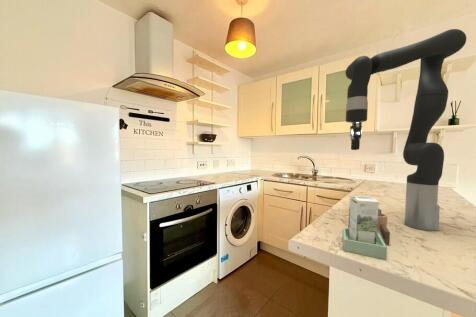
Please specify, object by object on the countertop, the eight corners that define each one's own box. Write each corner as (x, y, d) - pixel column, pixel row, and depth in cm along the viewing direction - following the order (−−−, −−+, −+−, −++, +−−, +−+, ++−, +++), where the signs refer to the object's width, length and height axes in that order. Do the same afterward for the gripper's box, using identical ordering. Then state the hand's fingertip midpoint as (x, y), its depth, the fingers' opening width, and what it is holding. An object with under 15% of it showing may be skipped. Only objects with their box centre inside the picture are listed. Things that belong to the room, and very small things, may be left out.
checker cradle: (383, 235, 69) (384, 223, 69) (389, 245, 62) (389, 232, 62) (348, 229, 74) (348, 218, 74) (349, 238, 67) (350, 226, 67)
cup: (383, 228, 76) (384, 213, 76) (387, 234, 70) (388, 217, 70) (365, 225, 78) (366, 210, 78) (367, 231, 73) (368, 215, 73)
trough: (378, 244, 63) (379, 233, 63) (386, 259, 54) (387, 247, 54) (342, 237, 67) (342, 227, 67) (343, 250, 58) (344, 239, 58)
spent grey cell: (379, 227, 75) (380, 207, 75) (381, 229, 73) (382, 209, 72) (371, 225, 76) (371, 206, 76) (372, 228, 74) (373, 208, 73)
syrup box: (366, 241, 63) (368, 196, 62) (376, 250, 57) (379, 200, 57) (347, 239, 64) (349, 195, 63) (355, 248, 58) (357, 199, 57)
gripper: (370, 105, 72) (368, 149, 73) (365, 112, 85) (363, 150, 86) (347, 106, 76) (345, 149, 76) (345, 113, 88) (343, 149, 89)
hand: (354, 149), depth 81 cm, fingers open, 8 cm apart
